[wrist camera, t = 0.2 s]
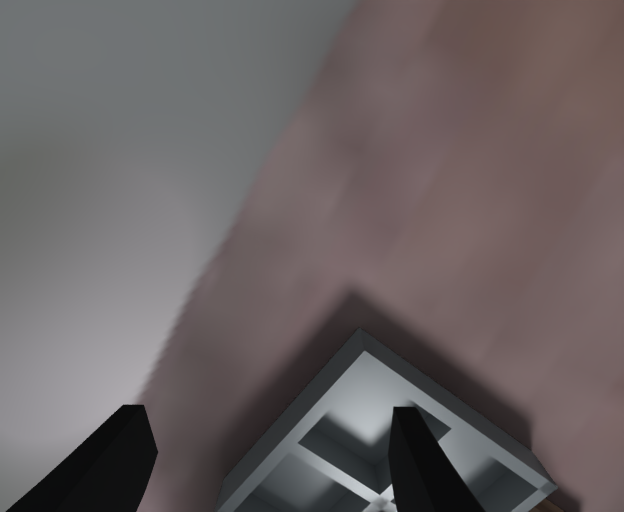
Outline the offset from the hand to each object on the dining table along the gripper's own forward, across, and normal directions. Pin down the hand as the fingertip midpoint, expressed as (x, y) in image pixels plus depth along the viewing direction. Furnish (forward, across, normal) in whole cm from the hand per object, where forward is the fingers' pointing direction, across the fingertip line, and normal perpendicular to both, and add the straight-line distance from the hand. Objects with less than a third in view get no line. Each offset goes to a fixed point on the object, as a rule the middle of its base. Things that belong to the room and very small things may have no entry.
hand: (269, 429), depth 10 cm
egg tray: (+8, -5, +14) cm, 17 cm away
